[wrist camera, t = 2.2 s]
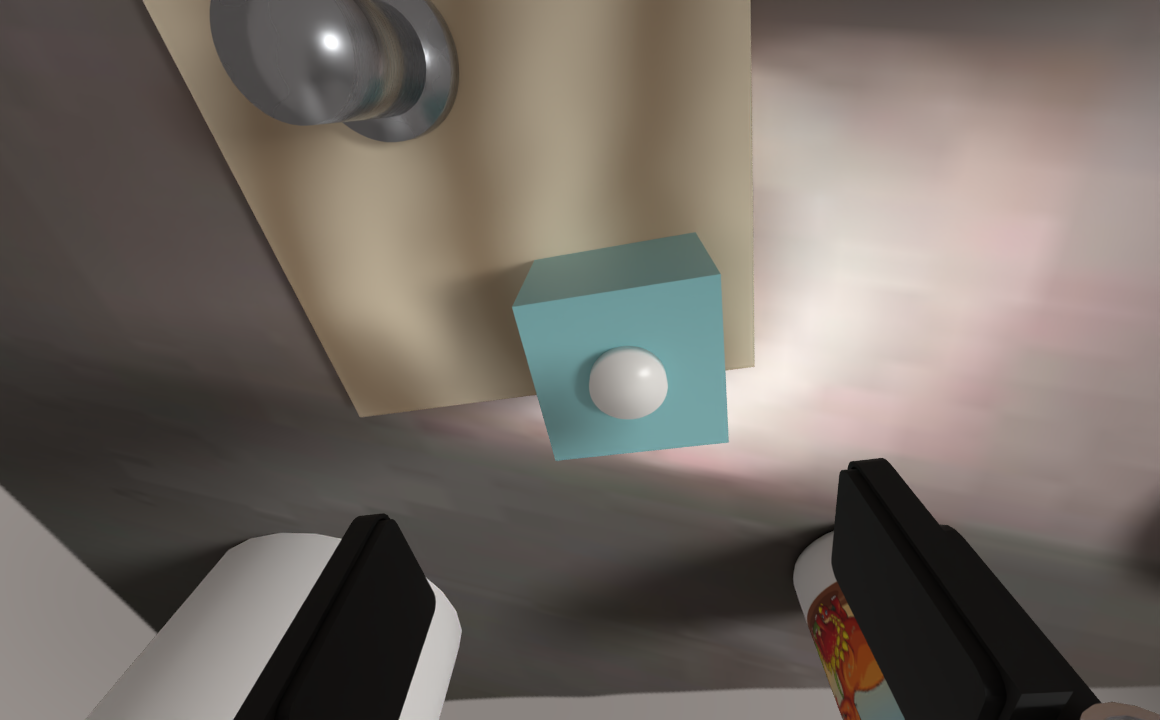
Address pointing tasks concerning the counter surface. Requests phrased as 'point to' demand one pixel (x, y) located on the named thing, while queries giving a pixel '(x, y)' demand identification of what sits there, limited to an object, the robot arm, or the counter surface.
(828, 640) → the milk bottle
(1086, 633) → the counter surface
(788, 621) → the counter surface
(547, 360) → the teal knob cube
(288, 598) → the white stepped round block
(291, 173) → the board
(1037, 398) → the counter surface
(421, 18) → the stud
